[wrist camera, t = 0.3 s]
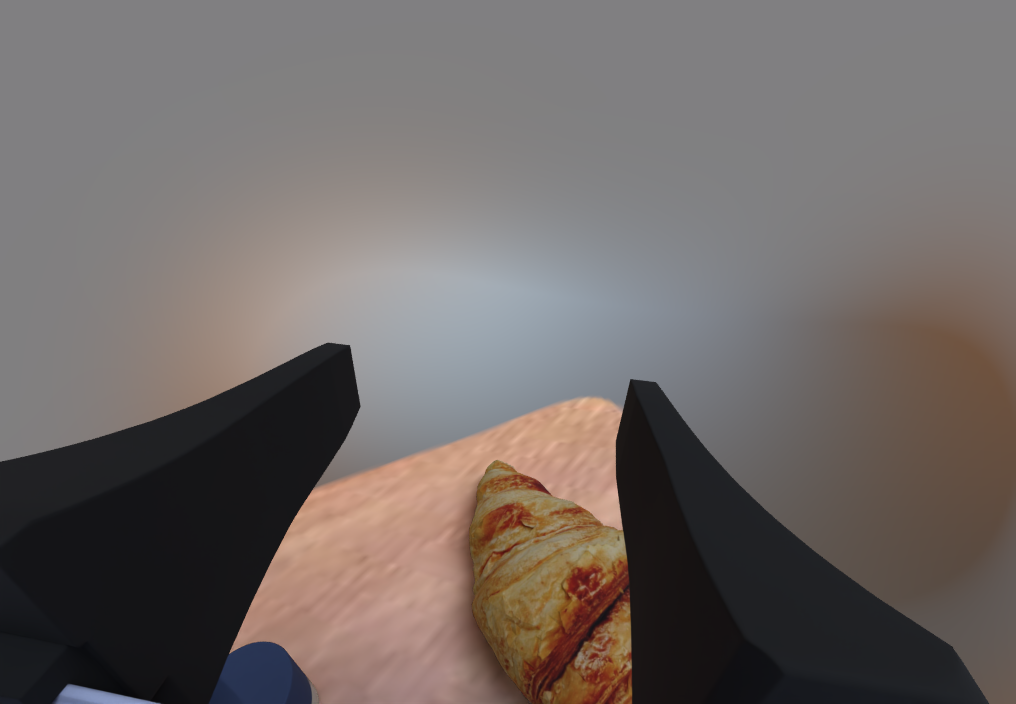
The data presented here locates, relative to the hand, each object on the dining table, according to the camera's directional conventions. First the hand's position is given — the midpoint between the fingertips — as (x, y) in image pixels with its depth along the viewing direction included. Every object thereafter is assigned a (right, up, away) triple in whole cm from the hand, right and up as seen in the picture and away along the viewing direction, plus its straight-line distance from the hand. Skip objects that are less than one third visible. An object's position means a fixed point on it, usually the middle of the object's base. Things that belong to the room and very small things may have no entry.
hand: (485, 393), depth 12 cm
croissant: (+4, -14, +15) cm, 21 cm away
